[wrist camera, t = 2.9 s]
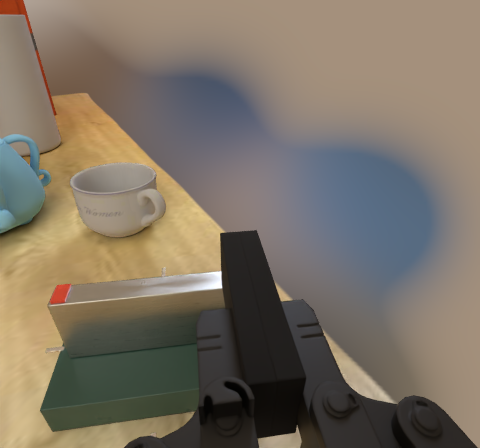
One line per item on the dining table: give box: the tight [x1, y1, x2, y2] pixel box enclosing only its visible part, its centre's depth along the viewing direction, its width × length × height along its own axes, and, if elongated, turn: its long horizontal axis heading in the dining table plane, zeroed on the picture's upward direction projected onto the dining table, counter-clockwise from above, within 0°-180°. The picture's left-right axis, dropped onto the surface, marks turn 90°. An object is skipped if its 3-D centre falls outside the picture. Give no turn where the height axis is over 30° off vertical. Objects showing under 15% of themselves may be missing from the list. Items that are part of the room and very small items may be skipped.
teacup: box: [70, 163, 166, 237], centre depth 46 cm, size 14×11×8 cm
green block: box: [40, 268, 199, 437], centre depth 29 cm, size 18×18×3 cm
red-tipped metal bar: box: [48, 271, 225, 358], centre depth 27 cm, size 14×2×6 cm, turn 98°
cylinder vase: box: [0, 14, 61, 156], centre depth 68 cm, size 12×12×25 cm
